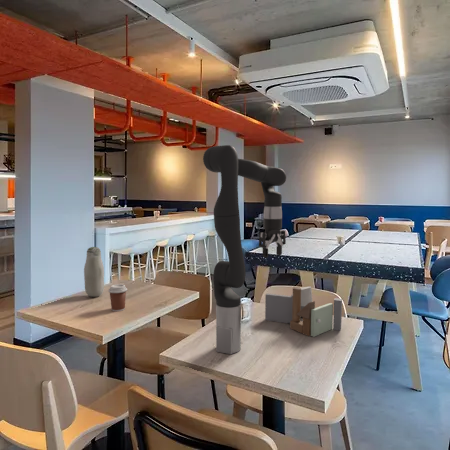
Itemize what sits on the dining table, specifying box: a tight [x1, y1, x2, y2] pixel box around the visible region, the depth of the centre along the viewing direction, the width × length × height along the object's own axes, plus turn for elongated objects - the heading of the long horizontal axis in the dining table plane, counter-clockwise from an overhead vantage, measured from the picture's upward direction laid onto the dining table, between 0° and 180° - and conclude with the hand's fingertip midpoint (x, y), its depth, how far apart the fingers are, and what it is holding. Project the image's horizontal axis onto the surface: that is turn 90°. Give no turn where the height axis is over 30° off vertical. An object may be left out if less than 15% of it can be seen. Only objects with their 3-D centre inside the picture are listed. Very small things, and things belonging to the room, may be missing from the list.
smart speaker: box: [300, 285, 313, 310], centre depth 184 cm, size 10×9×14 cm
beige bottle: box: [83, 246, 105, 298], centre depth 215 cm, size 10×10×28 cm
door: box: [311, 302, 334, 338], centre depth 161 cm, size 3×14×11 cm, turn 132°
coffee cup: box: [107, 283, 128, 312], centre depth 193 cm, size 9×9×12 cm
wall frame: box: [264, 293, 343, 331], centre depth 171 cm, size 3×33×13 cm, turn 67°
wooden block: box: [289, 286, 316, 337], centre depth 162 cm, size 4×11×18 cm, turn 35°
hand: (272, 256), depth 161 cm, fingers open, 8 cm apart
